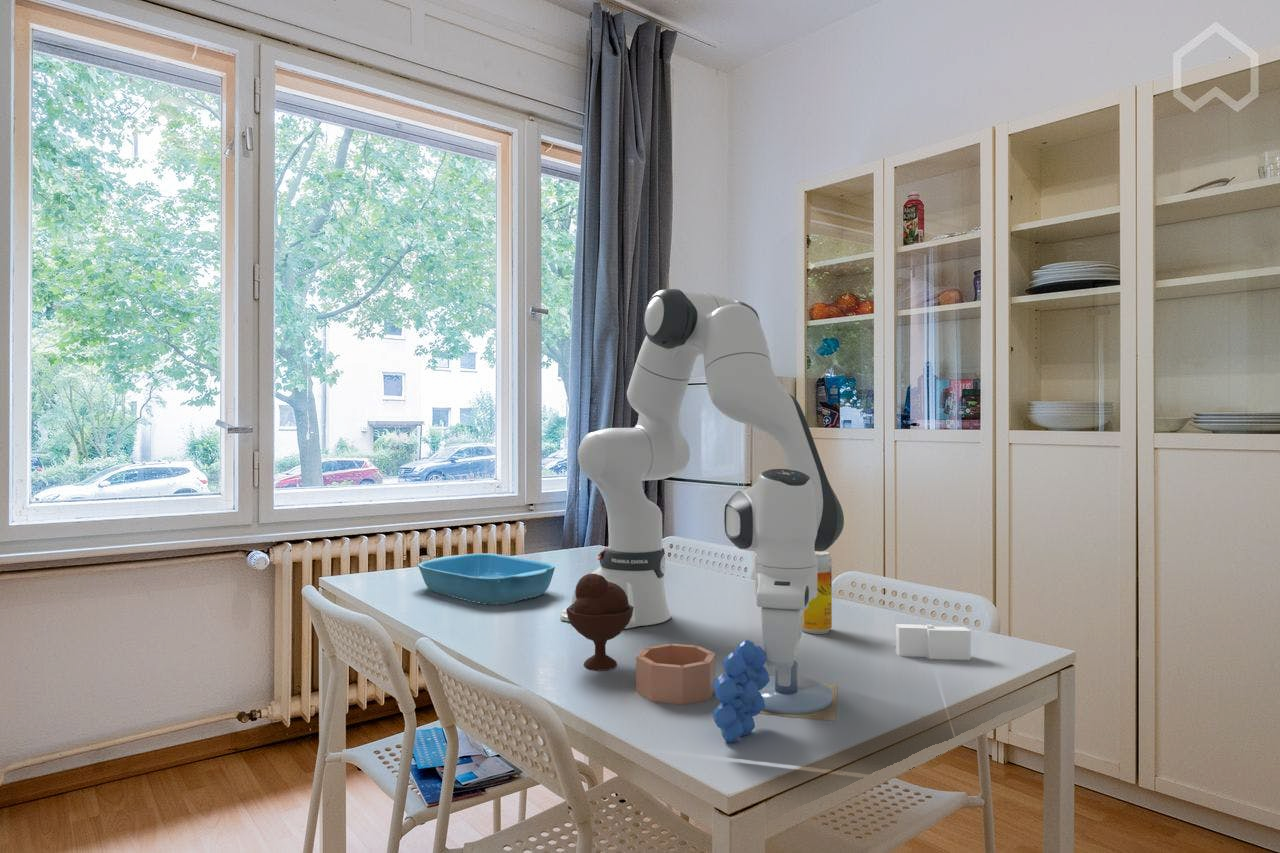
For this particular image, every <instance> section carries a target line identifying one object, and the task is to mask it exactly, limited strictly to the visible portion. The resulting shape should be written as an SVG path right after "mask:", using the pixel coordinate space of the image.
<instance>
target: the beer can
mask: <svg viewBox="0 0 1280 853" xmlns="http://www.w3.org/2000/svg"><path fill="white" fill-rule="evenodd" d="M815 555H816V558H817V597H816V598H815V599H812V600H811V601H810V602H809V603H808V608H807V609H806V610H804V611H803V631H802V632H804V633H807V634H812V633H813V634H814V635H822V634H828V633H829V632H830V630H831V629H832V626H833V624H832V623H833V621H832V620H833V619H832V618H833V617H832V616H833V615H832V613H833V612H832V610H833V609H832V607H833V603H832V602H833V600H832V596H833V595H832V592H833V591H832V588H833V587H832V584H833V583H832V579H833V578H832V576H833V574H832V571H833V569H832V568H833V567H832V556H831V555H830V552H829V551H827V550H825V551H815ZM813 634H812V635H813Z"/></svg>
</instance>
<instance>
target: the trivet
mask: <svg viewBox="0 0 1280 853" xmlns="http://www.w3.org/2000/svg"><path fill="white" fill-rule="evenodd" d="M825 685H826V686H827V687H829V688H830V689H831V690H832V692H833V703H832V705H831V706H830V707H829V708H827V709H825V710H823V711H820V712H816V713H811V714H799V715H791V714H779V713H772V712H767V711H763V710H762V711H761V712H760V713H759V714H760V715H768V716H770V715H771V716H776V717H777V716H779V717H787V718H788V717H789V718H800V719H808V720H816V721H817V720H818V721H828V722H836V714H837V701H838V689H839V688H838V687H839V686H838V685H832V684H825ZM759 714H758V715H759Z"/></svg>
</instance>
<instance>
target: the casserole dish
mask: <svg viewBox="0 0 1280 853" xmlns="http://www.w3.org/2000/svg"><path fill="white" fill-rule="evenodd" d="M418 569H419V571H420V574H421V576H422V578H423V582H424V584H425V586H426V588H428V589H429V591H432V592H433V591H435V592H434V593H436V592H438V593H437V594H439V593H442V594H441V595H443V594H446V595H450V596H454V597H458V598H462V599H466V600H470V601H475V602H480V603H486V604H501V605H504V604H503V603H507V604H511V603H510V602H512V603H516V602H515V601H517V602H520V601H519V600H521V601H522V599H525V600H528V599H527V598H530V599H532V598H531V597H534V598H536V597H535V596H537V597H540V596H542V595H543V594H544V593H545V592H546V591H547V590H548V588H549V587H550V584H551V582H552V579H553V575H554V572H555V569H556V565H555V564H553V563H550V562H544V561H538V560H533V559H528V558H522V557H515V556H510V555H504V554H497V553H489V552H487V553H479V552H478V553H469V554H457V555H450V556H448V555H447V556H441V557H436V558H431V559H430V560H426V561H422V562H420V563H419V564H418ZM541 594H542V595H541ZM446 595H445V596H446ZM539 595H540V596H539ZM450 596H449V597H450ZM454 597H453V598H454ZM458 598H457V599H458ZM462 599H461V600H462ZM466 600H465V601H466ZM470 601H469V602H470ZM475 602H474V603H475ZM486 604H485V605H486Z"/></svg>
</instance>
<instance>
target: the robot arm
mask: <svg viewBox="0 0 1280 853" xmlns="http://www.w3.org/2000/svg"><path fill="white" fill-rule="evenodd" d="M643 330H644V332H645V334H646V335H645V337H644V339H643V342H642V344H641V347H640V349H639V352H638V355H637V358H636V361H635V363H634V367H633V370H632V374H631V377H630V381H629V384H628V387H627V389H626V398H627V401H628V403H629V405H630V407H631V408H632V409H633V410H634V411H635V412H636V413H637V414H638V416H637V418H638V419H637V423H636V424H635V426H634V427H608V428H603V429H599V430H595V431H591V432H588V433H587V434H585V435H584V436H583V438H582V440H581V441H580V444H579V447H578V450H577V461H578V465H579V468H580V470H581V472H582V473H583V474H584V476H585V477H586V478H587V479H589V480H590V481H591V482H592V483H593V484H594V485H595V487H596V488H597V490H599V492H600V494H601V497H602V499H603V501H604V505H605V508H606V513H607V514H606V515H607V526H608V527H607V528H608V529H607V530H608V546H606V547H604V548H603V550H602V551H600V553H599V554H597V556H598V557H597V561H599V564H600V566H599V567H597V568H596V569H595V570H594V571H592V572H591V573H590V574H598V575H602V576H603V577H604V578H605V579H606V580H607V582H612V583H614V584H617V585H618V586H620V587H621V588H622V589H623V590H624V591H625V593H626V595H627V597H628V604H629V605H631V606H633V607H634V608H633V614H632V617H631V619H630V622H629V624H628V625H627V626H626V627H625V628H624V629H623V630H626V629H631V628H635V627H640V626H641V627H642V626H651V625H657V624H661V623H665V622H667V621H668V620H670V619H671V617H672V616H671V613H670V611H669V610H670V608H669V605H668V601H667V596H666V589H665V578H664V576H665V574H666V554H665V548H663V513H662V510H661V509H660V507H659V506H658V505H657V504H656V503H655V502H653V501H651V500H650V499H648V498H647V497H648V496H646V493H645V490H644V487H643V481H656V480H657V481H659V480H660V481H661V480H665V479H668V478H671V477H674V476H676V475H680V474H681V473H683V472H684V471H685V470H686V468H687V466H688V464H689V461H690V456H691V455H690V453H691V452H690V447H689V442H688V440H687V439H686V437H685V436H684V434H683V433H682V432H681V429H680V413H681V408H682V404H683V400H684V397H685V394H686V392H687V389H688V385H689V382H690V379H691V376H692V373H693V369H694V365H695V361H696V360H697V357H698V356H700V355H703V365H704V372H705V374H704V375H705V381H706V388H707V390H708V395H709V397H710V400H711V402H712V404H713V405H714V406H715V408H716V409H717V410H718V411H720V412H721V413H722V414H723V415H725V416H726V417H728V418H730V419H731V420H733V421H736V422H737V423H742V424H745V425H748V426H750V427H753V428H756V429H758V430H760V431H762V432H764V433H766V434H768V435H769V436H771V437H772V438H774V440H775V441H777V443H778V444H779V445H780V448H781V449H782V451H783V454H784V458H785V461H786V463H787V466H788V469H787V468H772V469H768V470H764V471H762V472H760V474H759V475H758V476H757V477H758V478H757V480H756V482H755V484H753V485H751V486H749V487H747V488H745V489H742V490H738V491H736V492H735V493H734V494H733V495H732V496H731V497H730V498H729V499H728V500H727V502H726V503H725V506H724V519H723V522H724V533H725V536H726V537H727V539H729V541H730V542H731V543H732V544H733V545H734V546H735V547H736V548H738V549H739V550H744V551H750V552H756V556H755V560H754V594H755V595H756V606H757V607H758V608H761V609H760V612H761V613H760V614H761V615H760V616H761V617H760V618H761V630H762V631H761V632H762V644H763V650H764V652H765V655H766V658H767V661H766V663H765V664H766V665H767V666H769V667H775V666H776V667H777V673H778V685H780V686H790V684H791V667H792V666H793V664H794V661H796V656H797V653H798V649H799V645H800V641H801V637H802V633H803V632H804V631H803V611H804V610H806V609H807V608H808V603H809V602H810V601H811V600H812V599H815V598H816V597H817V558H816V555H815V551H827V550H828V549H829V548H830V547H832V545H833V544H835V542H836V541H837V540H838V538H839V537H840V535H841V533H843V530H844V525H845V518H844V511H843V508H842V505H841V503H840V501H839V499H838V497H837V495H836V493H835V492H834V489H833V488H832V486H831V484H830V481H829V480H828V476H827V474H826V471H825V468H824V466H823V463H822V461H821V460H822V459H821V457H820V454H819V451H818V449H817V446H816V443H815V440H814V437H813V435H812V432H811V430H810V428H809V424H808V421H807V418H806V416H805V414H804V412H803V409H802V407H801V405H800V403H799V401H798V400H797V398H796V397H794V396H793V395H791V394H790V393H789V392H787V391H786V390H785V388H784V387H783V385H782V384H781V383H780V381H779V379H778V378H777V376H776V374H775V371H774V369H773V364H772V361H771V355H770V350H769V346H768V342H767V340H766V336H765V333H764V331H763V327H762V324H761V323H760V316H759V314H758V313H757V310H756V309H754V307H752V306H751V305H749V304H748V303H745V302H742V301H740V300H738V299H737V300H733V299H730V298H727V297H724V296H720V295H716V294H713V293H704V292H703V293H702V292H695V291H684V290H680V289H678V288H666V289H665V288H664V289H660V290H658V291H656V292H655V293H654V294H653V295H652V296H651V298H650V299H649V301H647V304H646V306H645V309H644V313H643ZM575 589H576V587H575V588H574V590H573V593H572V594H573V595H572V599H571V604H570V605H568V606H567V607H565V608H564V609H562V611H561V612H560V620H561V621H563V622H569V623H570V621H569V619H568V616H567V611H566V609H567V608H568V607H569V606H571V605H572V604H574V602H575V601H576V600H577V598H576V594H575Z"/></svg>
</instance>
